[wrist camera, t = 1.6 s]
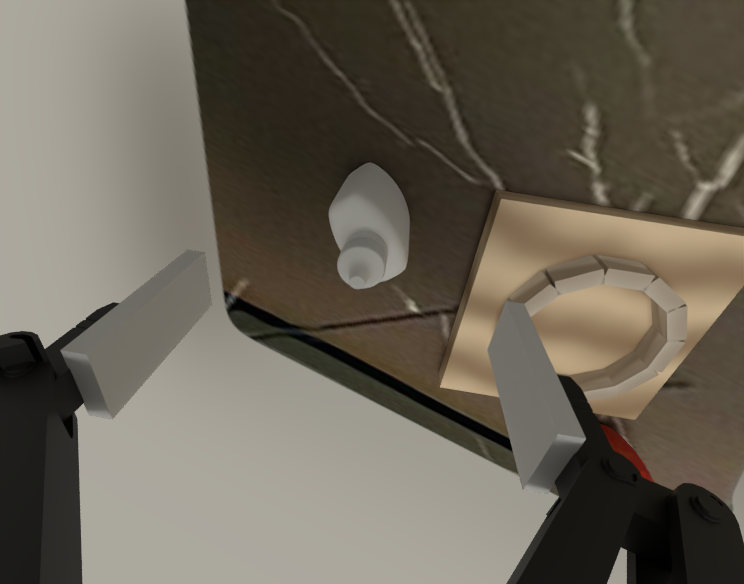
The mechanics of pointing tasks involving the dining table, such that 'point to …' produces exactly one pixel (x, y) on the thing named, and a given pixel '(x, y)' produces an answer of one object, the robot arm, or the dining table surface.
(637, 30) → the dining table surface
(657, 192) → the dining table surface
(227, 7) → the dining table surface
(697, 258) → the socket stand
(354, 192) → the eye dropper bottle
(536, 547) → the robot arm
